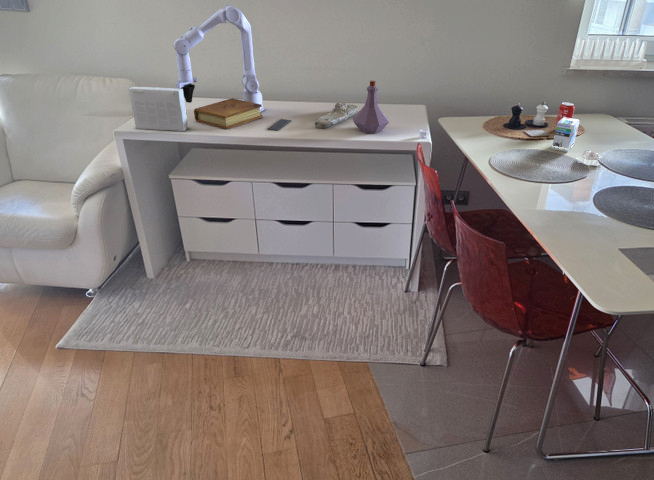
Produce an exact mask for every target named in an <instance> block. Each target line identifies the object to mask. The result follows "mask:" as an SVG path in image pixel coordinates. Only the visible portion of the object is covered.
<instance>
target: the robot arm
mask: <svg viewBox="0 0 654 480" xmlns="http://www.w3.org/2000/svg"><path fill="white" fill-rule="evenodd" d="M227 22H228V23H229V24H231V25H233V26H234V27H236V28H237V29H238V30H239V36H240V47H241V56H242V68H243V70H242V74H243V75H242V78H241V84H242V86H243V90H242V92H243V93H242V96H243V101H247V102H252V103H256V104H261V105H262V107H260V113H261V112H263V111H264V110H265V108H264V106H263V94H262V92H261V91H260V83H259V81H258V79H257V73H256V70H255V69H256V68H255V60H254V49H253V35H252V25H251V23H250V22H249V21H248V19H247V18H246V16H245V15H244V13H243V11H241V10H240V9H239V8H237V7H235V6H234V5H232V4H227V5H225V6H223V8H222V7H221V8H219V10H217V11H216V12H214V13H213V14H212V15H210V17H209V18H208V19H206V20H205V21H204V22H203V23H202V24H201V25H199V26H193V27H192V26H190V27H189V28H188V31H186V32H185V33H184V34H181V35H180V36H179V37H180V38H177V39H175V40H174V41H173V42H174V43H173V47H174V50H175V57H176V58H175V59H176V66H177V73H178V79H176V83H175V89H183V94H184V101H185V103H189V104H191V103H193V96H194V95H193V94H194V90H195V88H196V85H195V84H193V83H197V82H198V81H197V77H195V76H193V71H192V64H191V58H190V49H193V48H194V47H196V46H197V45H198V44H200V42H202V41H203V40H204V38H205V37H204V36H205V34H206V33H208V32H209V31H211V30H212V29H214V27H216V26H218V25H219V24H227Z"/></svg>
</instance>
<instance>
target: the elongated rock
mask: <svg viewBox="0 0 654 480" xmlns="http://www.w3.org/2000/svg"><path fill="white" fill-rule="evenodd" d="M359 111H360V110H359V105H357V104H353V103H352V104H347V103H345V102H342V103H340V102H336V103H335V105H334V108H333V109H332V110H331V111H330V112H327V113H326V114H324V115H322V116H320V117H318V118H315V121H314V125H315V127H316V128H318V129H322V130H325V129H328V128H330V127H332V126H335V125H338V124H340V123H342V122H344V121H345V122H346V120H347V119H349V118H351V117H354V116H355V115H356V114H357V113H358V112H359Z"/></svg>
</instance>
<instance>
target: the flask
mask: <svg viewBox="0 0 654 480" xmlns="http://www.w3.org/2000/svg"><path fill="white" fill-rule="evenodd" d="M376 83H377V81H376V80H369V85H367V86H366V92H367V96H366V100H365V103H364V105H363V107H362V108H361V109H360V110H358V112H357V113H356V114H355V115H353V116H352V122H353V124H354V125H355V126H356V128H357V129H358V130H359V131H360V133H361V132H362V133H365V134H377V133H378V134H379V133H381V132H382V131H383V130H384V129H385V128H386V127H387V125H389V124H390V122H389V119H388V117H387V116H386V115H385V113H384V112H383V111H382V109H381V108H380V107H379V104H378V98H377V93H378V91H379V88H378V87H377V86H376Z"/></svg>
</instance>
